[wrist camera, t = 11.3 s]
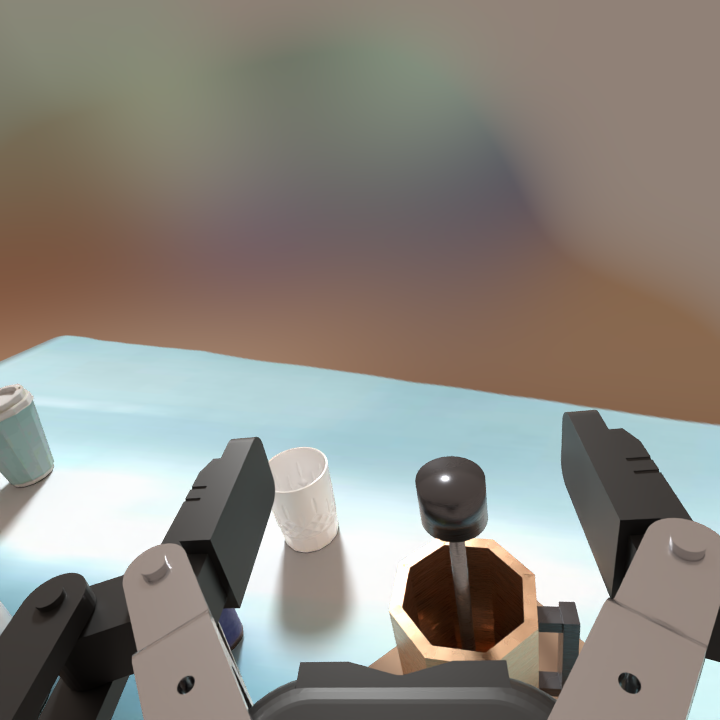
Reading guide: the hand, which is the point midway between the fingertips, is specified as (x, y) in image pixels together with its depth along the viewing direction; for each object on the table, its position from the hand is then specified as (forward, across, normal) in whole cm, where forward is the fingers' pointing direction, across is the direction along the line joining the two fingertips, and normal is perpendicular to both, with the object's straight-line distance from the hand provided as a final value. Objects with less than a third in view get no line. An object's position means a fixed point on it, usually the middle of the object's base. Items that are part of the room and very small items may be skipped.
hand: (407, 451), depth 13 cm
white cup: (+32, +16, +38) cm, 52 cm away
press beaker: (+11, -1, +36) cm, 38 cm away
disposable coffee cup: (+48, +67, +38) cm, 91 cm away
